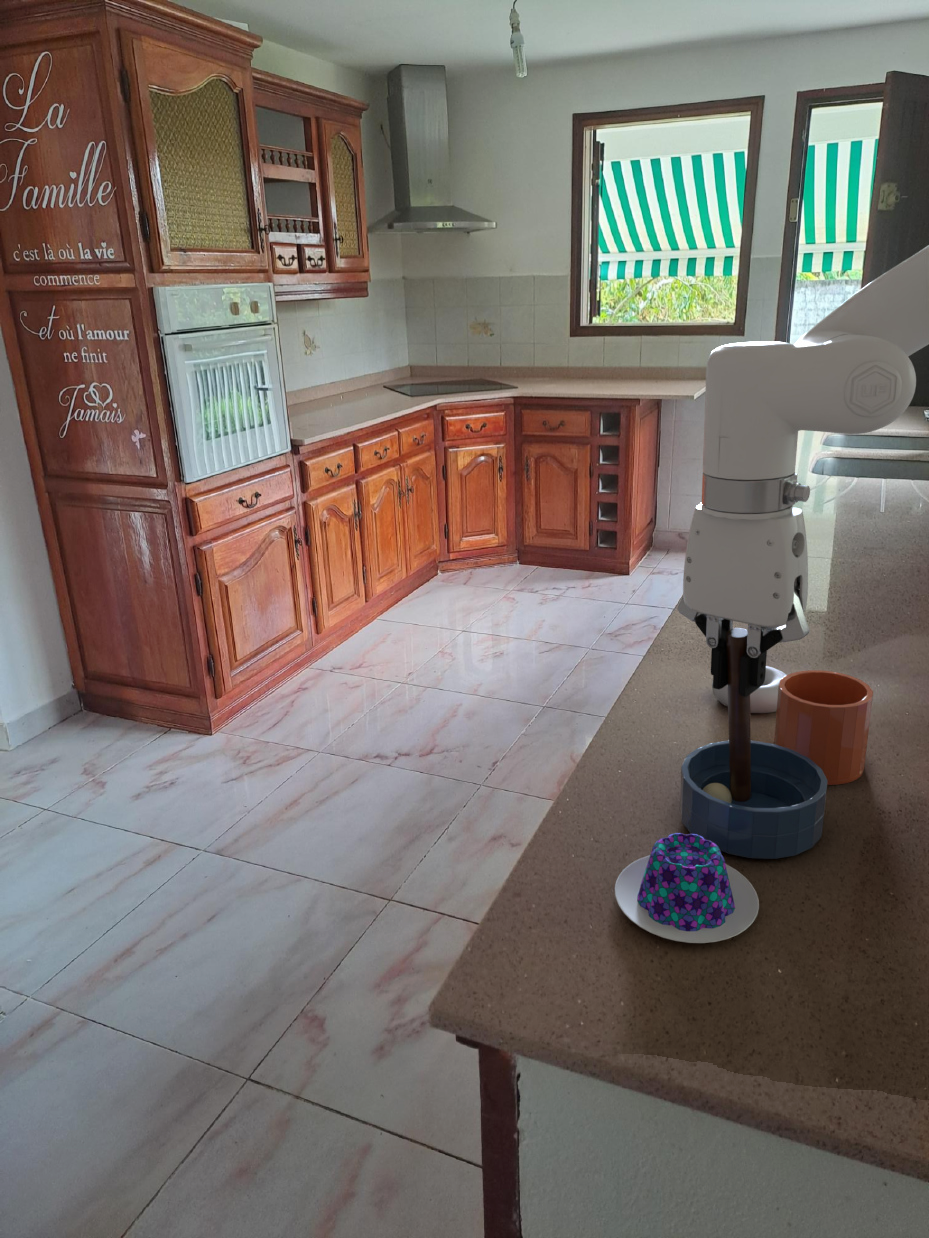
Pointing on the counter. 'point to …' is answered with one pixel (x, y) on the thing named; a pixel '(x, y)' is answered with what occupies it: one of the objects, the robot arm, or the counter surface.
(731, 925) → the pudding
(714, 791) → the dough ball
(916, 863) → the counter surface
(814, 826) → the bowl
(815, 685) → the crock
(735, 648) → the stick
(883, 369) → the robot arm
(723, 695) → the donut
